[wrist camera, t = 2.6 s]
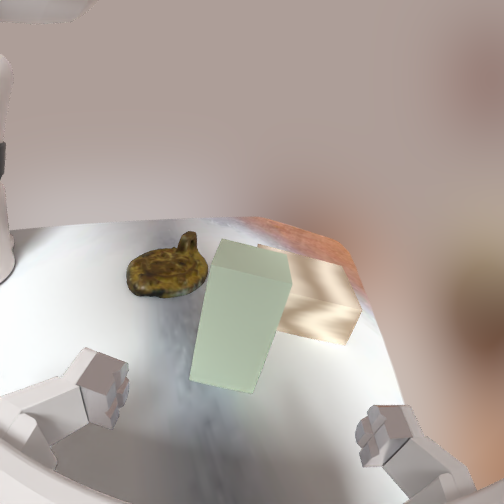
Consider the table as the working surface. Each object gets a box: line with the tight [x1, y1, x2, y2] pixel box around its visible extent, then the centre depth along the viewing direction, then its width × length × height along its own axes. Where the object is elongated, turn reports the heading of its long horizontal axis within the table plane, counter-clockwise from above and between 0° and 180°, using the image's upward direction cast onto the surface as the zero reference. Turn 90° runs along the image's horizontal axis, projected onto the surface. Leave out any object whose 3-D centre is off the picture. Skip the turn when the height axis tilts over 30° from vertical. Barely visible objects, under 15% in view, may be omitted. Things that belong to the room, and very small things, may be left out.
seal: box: [127, 231, 208, 298], centre depth 36 cm, size 9×5×15 cm
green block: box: [189, 239, 292, 394], centre depth 22 cm, size 5×5×10 cm
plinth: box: [257, 244, 362, 345], centre depth 35 cm, size 12×12×5 cm
